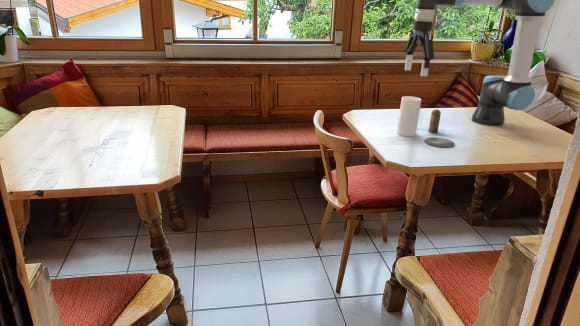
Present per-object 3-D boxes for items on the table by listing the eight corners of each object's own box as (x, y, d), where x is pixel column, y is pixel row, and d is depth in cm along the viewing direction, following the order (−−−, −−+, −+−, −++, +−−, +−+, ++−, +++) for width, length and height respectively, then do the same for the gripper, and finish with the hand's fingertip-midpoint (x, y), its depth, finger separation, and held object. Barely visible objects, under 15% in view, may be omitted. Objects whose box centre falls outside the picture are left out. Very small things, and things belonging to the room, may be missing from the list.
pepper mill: (434, 130, 198) (438, 108, 194) (439, 132, 194) (443, 110, 190) (426, 130, 197) (430, 108, 193) (431, 133, 193) (435, 110, 189)
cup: (416, 137, 187) (422, 101, 181) (397, 135, 188) (402, 99, 182) (415, 131, 194) (420, 97, 188) (396, 130, 196) (401, 95, 190)
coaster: (443, 138, 188) (444, 136, 187) (460, 147, 177) (460, 145, 176) (419, 139, 185) (419, 137, 184) (434, 148, 174) (434, 147, 174)
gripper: (400, 18, 184) (393, 67, 192) (431, 22, 161) (422, 78, 169) (416, 18, 186) (409, 68, 193) (449, 23, 163) (439, 78, 171)
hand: (415, 73), depth 181 cm, fingers open, 13 cm apart
